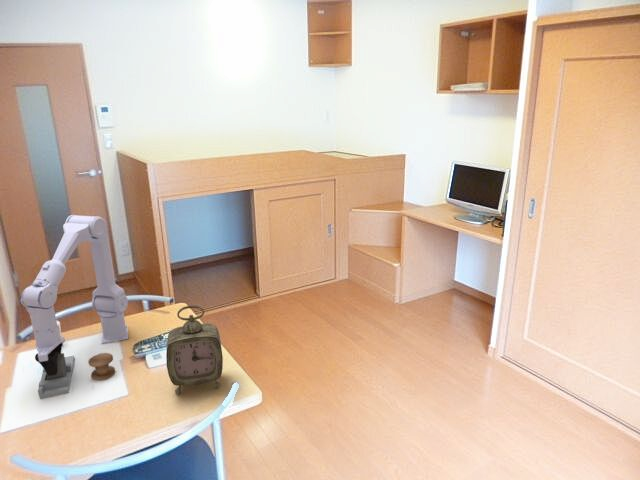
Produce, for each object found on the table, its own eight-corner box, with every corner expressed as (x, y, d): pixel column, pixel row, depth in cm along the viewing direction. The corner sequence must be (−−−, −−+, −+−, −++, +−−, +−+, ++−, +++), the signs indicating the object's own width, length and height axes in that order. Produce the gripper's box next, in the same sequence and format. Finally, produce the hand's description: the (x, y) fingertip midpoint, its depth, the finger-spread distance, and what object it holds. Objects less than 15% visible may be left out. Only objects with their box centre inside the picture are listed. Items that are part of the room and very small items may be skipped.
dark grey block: (51, 373, 131) (48, 355, 130) (67, 371, 133) (63, 353, 131) (48, 381, 128) (44, 362, 126) (64, 379, 129) (60, 360, 127)
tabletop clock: (170, 399, 124) (160, 316, 116) (171, 379, 132) (162, 301, 124) (225, 390, 128) (219, 309, 120) (222, 372, 136) (216, 295, 128)
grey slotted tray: (49, 363, 140) (47, 354, 139) (74, 358, 143) (73, 349, 142) (39, 398, 124) (37, 388, 123) (68, 392, 127) (66, 382, 126)
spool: (92, 370, 137) (89, 355, 135) (115, 365, 139) (112, 351, 137) (90, 382, 131) (87, 367, 129) (115, 377, 133) (112, 362, 132)
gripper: (56, 337, 120) (65, 382, 124) (66, 313, 133) (74, 354, 137) (25, 342, 118) (35, 387, 122) (39, 316, 131) (48, 358, 135)
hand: (54, 369), depth 129 cm, fingers open, 4 cm apart
